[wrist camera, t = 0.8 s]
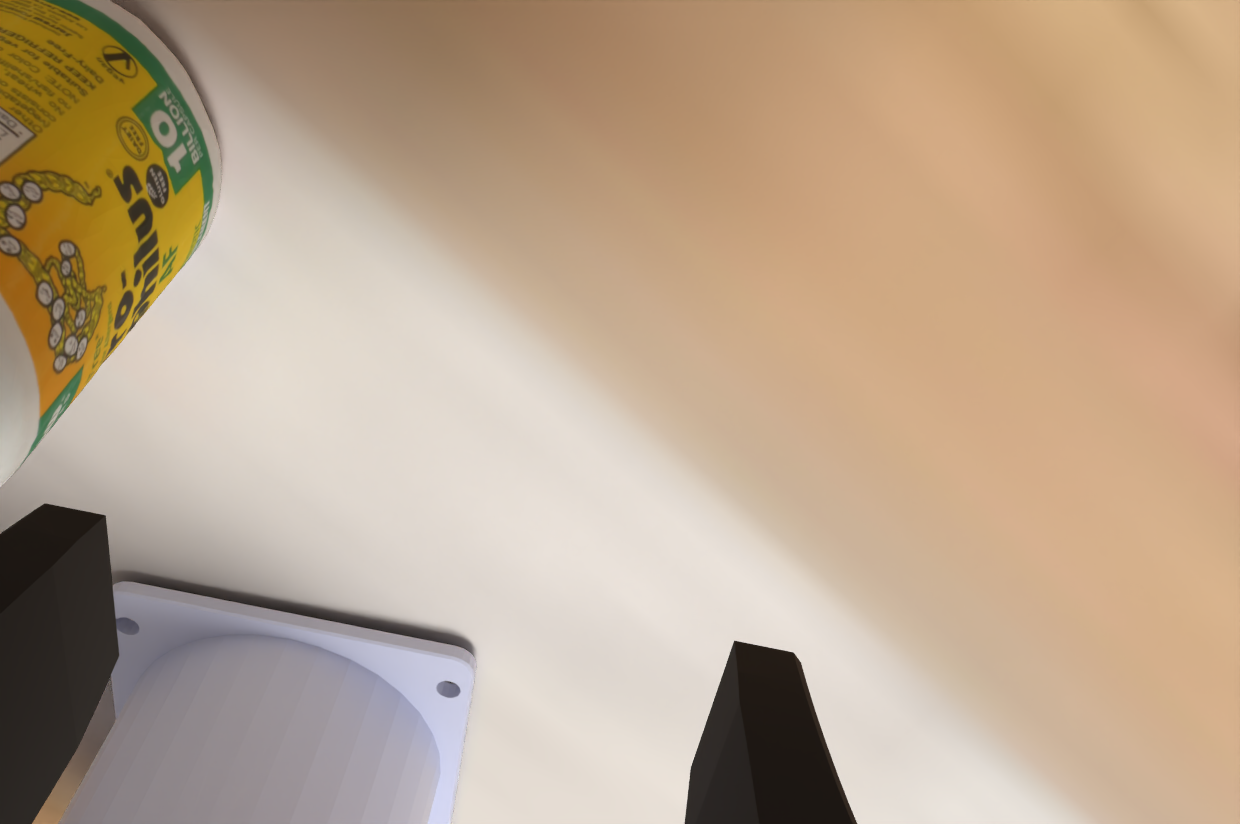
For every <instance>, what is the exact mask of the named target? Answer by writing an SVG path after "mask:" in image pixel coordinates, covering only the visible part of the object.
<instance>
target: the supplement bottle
mask: <svg viewBox="0 0 1240 824" xmlns="http://www.w3.org/2000/svg"><path fill="white" fill-rule="evenodd" d="M221 178H222V167H221V156H220V148H219V145H218V142H217V139H216V136H215V133H214V129H213V127H212V124H211V122H210V120H209V117H208V115H207V113H206V111H205V108H204V106H203V104H202V101H201V99H200V97H199V95H198V93H197V91H196V89H195V87H194V85H193V83H192V81H191V79H190V78H189V76H188V74H187V72H186V70H185V69H184V68H183V66H182V65H181V63H180V62H179V61H178V59H177V58H176V57H175V56H174V55H173V53H172V52H171V51H170V50H169V49H168V48H167V47H166V45H165V44H164V43H163V42H162V41H161V40H160V39H159V38H158V37H157V36H156V35H155V34H154V33H153V32H152V31H151V30H150V29H149V28H148V27H147V26H146V25H145V24H144V23H143V22H142V21H141V20H140V19H139V18H137V17H135V16H134V15H132V14H131V13H129V12H128V11H126V10H125V9H123V8H122V7H120V6H119V5H117V4H115V3H114V2H112V1H110V0H0V487H1V486H2V485H3V484H4V483H5V482H6V481H7V480H8V479H9V478H10V477H11V476H12V475H13V474H14V473H15V472H16V471H17V469H18V468H19V467H20V466H21V465H22V463H23V462H24V461H25V460H26V458H27V457H28V456H29V454H30V453H31V452H32V451H33V450H34V449H35V448H36V446H37V445H38V444H39V443H40V441H41V440H42V439H43V438H44V436H45V435H46V434H47V433H48V432H49V430H50V429H51V428H52V427H53V426H54V424H55V423H56V422H57V420H58V419H59V418H60V416H61V415H62V414H63V413H64V411H65V410H66V409H67V408H68V407H69V405H70V404H71V403H72V402H73V401H74V399H75V398H76V397H77V396H78V395H79V393H80V392H81V391H82V390H83V388H84V387H85V386H86V385H87V383H88V382H89V381H90V380H91V378H92V377H93V376H94V374H95V373H96V372H97V370H98V369H99V367H100V366H101V364H102V363H103V362H104V361H105V360H106V359H107V358H108V357H109V356H110V355H111V354H112V352H113V351H114V350H115V349H116V348H117V346H118V345H119V344H120V343H121V342H122V341H123V339H124V338H125V337H126V335H127V334H128V332H129V331H130V330H131V329H132V328H133V327H134V326H135V324H136V323H137V322H138V320H139V319H140V318H141V317H142V316H143V315H144V313H145V312H146V311H147V310H148V308H149V307H150V306H151V305H152V304H153V302H154V301H155V300H156V298H157V297H158V296H159V295H160V294H161V293H162V291H163V290H164V289H165V288H166V286H167V285H168V284H169V283H170V282H171V281H172V279H173V278H174V277H175V275H176V274H177V273H178V272H179V271H180V269H181V268H182V267H183V266H184V265H185V263H186V262H187V261H188V260H189V259H190V257H191V256H192V255H193V253H194V252H195V251H196V250H197V248H198V247H199V246H200V244H201V243H202V241H203V240H204V238H205V237H206V235H207V233H208V231H209V229H210V226H211V224H212V222H213V219H214V217H215V214H216V210H217V207H218V203H219V197H220V190H221Z"/></svg>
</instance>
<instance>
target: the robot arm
mask: <svg viewBox="0 0 1240 824" xmlns="http://www.w3.org/2000/svg"><path fill="white" fill-rule="evenodd" d="M130 619H132V620H130ZM476 668H477V664H476V659H475V658H474V656H473V655H472V654H471V653H470V652H468V651H467V650H465V649H464V648H461V647H458V646H454V645H449V644H444V643H439V642H434V641H429V640H424V639H419V638H414V637H409V636H403V635H398V634H393V633H388V632H383V631H378V630H373V629H368V628H363V627H358V626H353V625H348V624H343V623H338V622H333V621H328V620H323V619H318V618H313V617H307V616H302V615H297V614H292V613H287V612H282V611H277V610H272V609H267V608H262V607H257V606H252V605H247V604H242V603H237V602H232V601H227V600H222V599H217V598H212V597H206V596H201V595H196V594H191V593H186V592H181V591H176V590H171V589H166V588H161V587H156V586H151V585H146V584H141V583H136V582H126V581H122V582H118V583H115V584H114V585H113V586H112V576H111V565H110V555H109V545H108V535H107V525H106V516H105V515H100V514H95V513H90V512H85V511H80V510H75V509H70V508H65V507H60V506H55V505H50V504H43V505H42V506H40V507H39V508H37V509H36V510H34V511H33V512H31V513H30V514H28V515H27V516H25V517H24V518H22V519H21V520H19V521H18V522H17V523H15V524H14V525H12V526H11V527H9V528H8V529H6V530H5V531H4V532H2V533H1V534H0V824H32V822H33V821H34V819H35V817H36V816H37V814H38V813H39V811H40V809H41V808H42V806H43V804H44V803H45V801H46V799H47V798H48V796H49V794H50V793H51V791H52V789H53V788H54V786H55V785H56V783H57V781H58V780H59V778H60V776H61V775H62V773H63V771H64V770H65V768H66V766H67V765H68V763H69V761H70V760H71V758H72V756H73V755H74V753H75V751H76V749H77V748H78V746H79V744H80V741H81V739H82V737H83V735H84V733H85V731H86V729H87V727H88V724H89V722H90V720H91V718H92V716H93V714H94V712H95V710H96V707H97V705H98V703H99V701H100V699H101V696H102V694H103V692H104V689H105V687H106V685H107V683H108V680H109V678H110V676H111V681H112V690H113V700H114V709H115V719H116V721H115V723H114V725H113V726H112V728H111V730H110V732H109V734H108V735H107V737H106V739H105V741H104V743H103V744H102V746H101V748H100V750H99V751H98V753H97V755H96V757H95V759H94V760H93V762H92V764H91V766H90V768H89V769H88V771H87V773H86V775H85V776H84V778H83V780H82V782H81V784H80V785H79V787H78V789H77V791H76V793H75V794H74V796H73V798H72V800H71V801H70V803H69V805H68V807H67V809H66V810H65V812H64V814H63V816H62V818H61V819H60V821H59V823H58V824H451V823H452V817H453V810H454V804H455V798H456V792H457V786H458V779H459V773H460V767H461V761H462V755H463V748H464V742H465V736H466V730H467V724H468V717H469V711H470V705H471V699H472V693H473V686H474V680H475V674H476ZM445 681H450V682H453V683H455V684H450V683H448V682H445ZM685 824H857V822H856V820H855V817H854V815H853V813H852V810H851V808H850V805H849V803H848V800H847V798H846V795H845V793H844V790H843V788H842V785H841V782H840V780H839V777H838V775H837V772H836V769H835V766H834V763H833V761H832V758H831V755H830V752H829V750H828V747H827V744H826V741H825V739H824V736H823V733H822V730H821V727H820V724H819V721H818V718H817V715H816V712H815V709H814V706H813V702H812V699H811V696H810V693H809V689H808V686H807V683H806V679H805V676H804V672H803V669H802V665H801V662H800V661H799V659H798V658H797V657H796V655H795V654H794V653H793V652H788V651H783V650H778V649H773V648H768V647H763V646H758V645H753V644H748V643H743V642H738V641H734V643H733V646H732V649H731V652H730V655H729V658H728V661H727V664H726V667H725V670H724V673H723V676H722V678H721V681H720V684H719V687H718V690H717V693H716V696H715V699H714V702H713V705H712V708H711V711H710V714H709V716H708V719H707V722H706V725H705V728H704V731H703V734H702V737H701V740H700V743H699V746H698V749H697V752H696V754H695V757H694V760H693V763H692V766H691V772H690V781H689V790H688V799H687V808H686V817H685Z"/></svg>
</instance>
